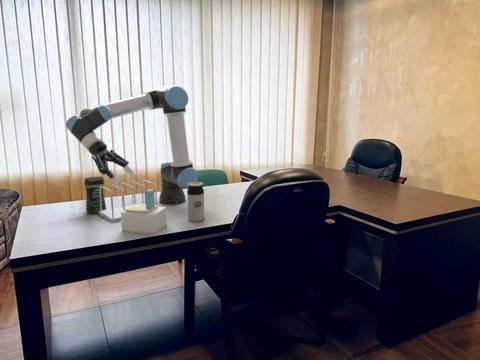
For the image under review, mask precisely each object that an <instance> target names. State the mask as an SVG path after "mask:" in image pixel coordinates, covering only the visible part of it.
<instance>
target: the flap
mask: <svg viewBox="0 0 480 360" xmlns="http://www.w3.org/2000/svg"><path fill="white" fill-rule="evenodd" d="M145 197H146V204H142V203H136V204H135V205H133V204H132V205H133V206H131V205H130V206H131V207H129V208H127V209H125V211H128V212H142V213H149V212H150V211H152V210H154V209H155V208H157V207H159V204H157V205H156V199H155V189H151V188H149V189H147V190H146V191H145V193H144V198H145Z"/></svg>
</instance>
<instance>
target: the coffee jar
mask: <svg viewBox="0 0 480 360" xmlns="http://www.w3.org/2000/svg"><path fill="white" fill-rule="evenodd" d="M83 183H84V186H83V187H84V188H85V190H86V191H85V192H86V195H85V196H86V202H85V211H86V212H87V213H88V214H99V211H101V208H100V186H102V187H105V181H104V178H103V176H90V177H85V178H84V182H83ZM101 203H102V210H107V205H106V201H105V194H104V189H103V188H101Z"/></svg>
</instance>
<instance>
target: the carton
mask: <svg viewBox="0 0 480 360" xmlns="http://www.w3.org/2000/svg"><path fill="white" fill-rule="evenodd" d="M120 222H121V233H130V234H140V235H150V236H151V235H152V236H156V235H157V234H158V233H159V234H160V232H162V231H163V230H164V229H165V228H166V227H168V215H167V207H164V206H158V207H157V208H155V209H154V210H152V211H150V212H149V213H142V212H128V211H125V210H124V211H122V212H121V221H120Z"/></svg>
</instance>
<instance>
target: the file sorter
mask: <svg viewBox="0 0 480 360" xmlns="http://www.w3.org/2000/svg"><path fill="white" fill-rule="evenodd" d="M144 182H145V183H148V184H151V185H153V186H154V198H155V205H158V200H157V199H158V196H157V195H158V192H157V191H158V190H157V189H158V188H157V185H156V184H155V183H154V182H152V181H148V180H146V179H143V180H142V181H141V183H138V182H136V181H132V182H131V185H130V184H127V183H125V182H122V183H121V186H118V185H116V184H115V185H114V184H110V185H109V188H106V187H105V186H104V187H102V186H100V208H101V211H99V213H98V215H100V216H101V217H103V218H105V220H108V221H109V222H111V223H115V222H121V212H122V211H124V210H125V209H127V208H129V207H131V206H133V205H135V204H137V203H136V201H137V200H136V189H135V187H134V184H135V185H138V186H141V198H142V201H141V202H142V203H141V204H146V197H145V196H144V194H145V191H146V186H145V185H144ZM123 185H124V186H127V187H130V188H131V200H132V201H131V202H132V204H131V205H125V204H126V203H125V192H124V188H123ZM112 187H113V188H114V187H115V188H117V189H120V190H121V191H120V192H121V205H122V206H121V207H120V206H119V207H115V208H114V199H113V198H114V197H113V192H112ZM101 188H103V190H106V191H108V192H109V194H110V195H109V196H110V197H109V198H110V205H111V208H109V209H108V208H106V210H102V203H101Z"/></svg>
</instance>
